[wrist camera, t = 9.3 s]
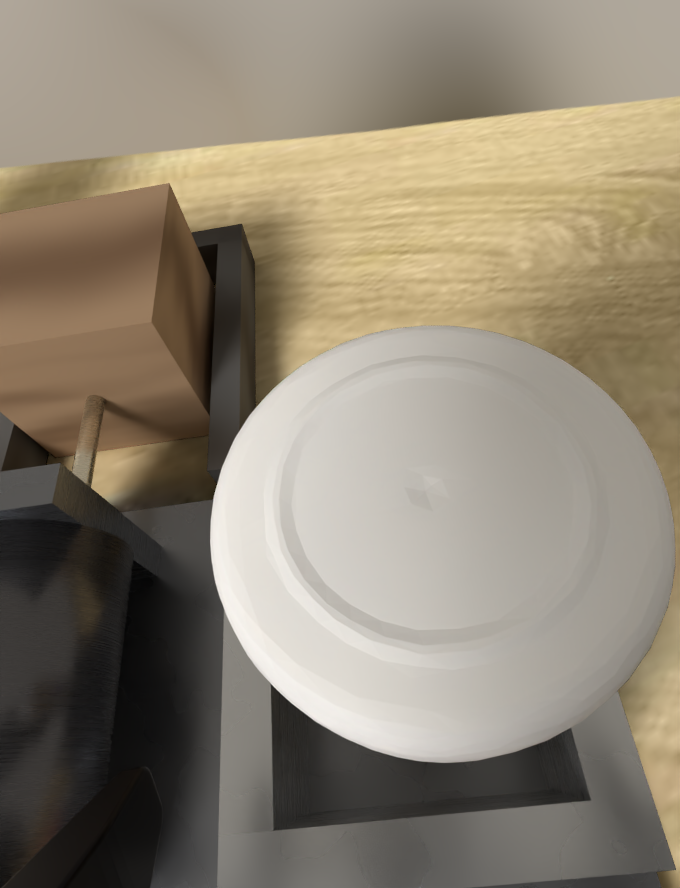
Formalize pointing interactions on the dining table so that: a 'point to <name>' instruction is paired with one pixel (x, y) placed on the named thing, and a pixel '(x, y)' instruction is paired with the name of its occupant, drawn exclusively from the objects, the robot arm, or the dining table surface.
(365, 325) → the dining table surface
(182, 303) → the crate bay
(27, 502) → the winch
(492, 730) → the sprinkles bottle
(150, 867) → the robot arm
